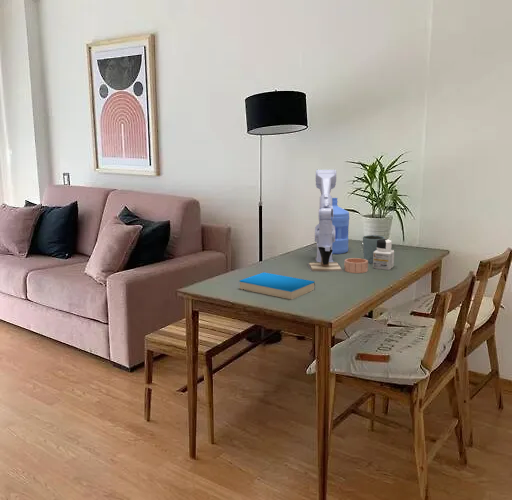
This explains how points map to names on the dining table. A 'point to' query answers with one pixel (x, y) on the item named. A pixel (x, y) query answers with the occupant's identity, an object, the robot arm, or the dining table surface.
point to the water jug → (340, 228)
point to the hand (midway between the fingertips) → (324, 263)
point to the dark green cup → (370, 246)
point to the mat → (320, 271)
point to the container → (383, 255)
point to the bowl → (356, 265)
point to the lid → (325, 266)
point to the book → (277, 285)
